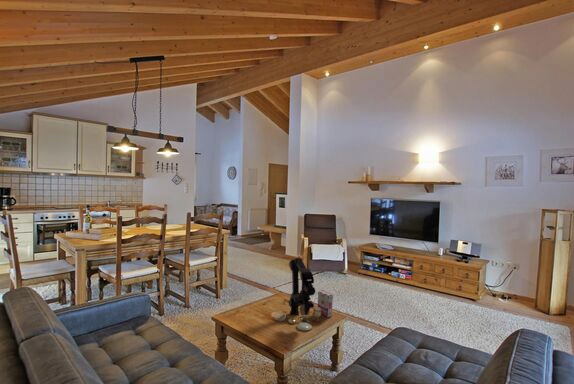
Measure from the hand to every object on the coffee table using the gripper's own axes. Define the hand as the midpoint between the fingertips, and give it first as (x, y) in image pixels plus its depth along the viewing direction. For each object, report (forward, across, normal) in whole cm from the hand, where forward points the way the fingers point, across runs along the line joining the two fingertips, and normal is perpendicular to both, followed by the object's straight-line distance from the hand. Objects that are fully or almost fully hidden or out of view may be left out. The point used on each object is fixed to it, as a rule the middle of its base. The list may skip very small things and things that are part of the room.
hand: (304, 312), depth 202 cm
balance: (+10, -8, +3) cm, 14 cm away
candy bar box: (+10, -17, +21) cm, 29 cm away
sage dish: (+10, 0, 0) cm, 10 cm away
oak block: (+5, -8, +12) cm, 16 cm away
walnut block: (+1, 0, 0) cm, 1 cm away
